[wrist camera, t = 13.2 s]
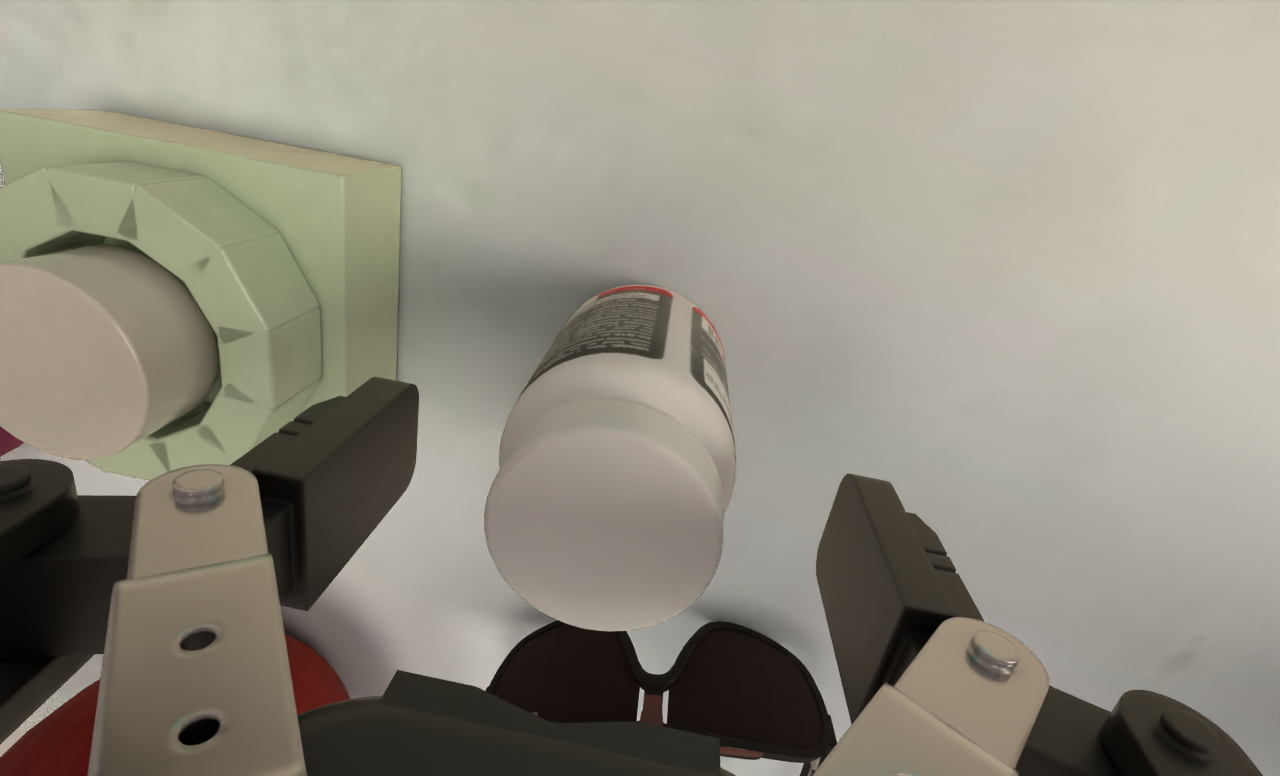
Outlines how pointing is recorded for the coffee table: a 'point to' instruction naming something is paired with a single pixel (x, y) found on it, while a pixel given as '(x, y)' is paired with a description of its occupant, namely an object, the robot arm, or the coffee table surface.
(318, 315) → the button base
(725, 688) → the sunglasses
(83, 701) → the apple
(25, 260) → the beige button cap
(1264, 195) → the coffee table surface
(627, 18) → the coffee table surface
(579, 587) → the pill bottle
